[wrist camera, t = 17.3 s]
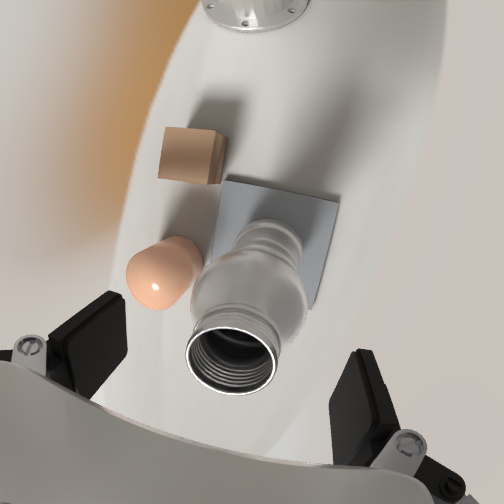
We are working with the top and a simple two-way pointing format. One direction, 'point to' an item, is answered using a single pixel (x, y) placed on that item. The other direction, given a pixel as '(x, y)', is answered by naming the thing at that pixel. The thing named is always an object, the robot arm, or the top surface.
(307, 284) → the slate mat
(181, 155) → the copper block
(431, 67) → the top surface
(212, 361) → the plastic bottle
